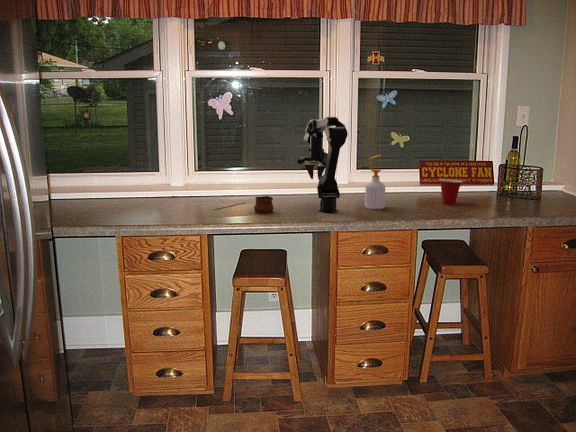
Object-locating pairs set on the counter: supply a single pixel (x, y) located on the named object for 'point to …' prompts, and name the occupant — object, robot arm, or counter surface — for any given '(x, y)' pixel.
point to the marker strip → (229, 205)
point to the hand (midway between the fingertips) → (315, 179)
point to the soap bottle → (375, 191)
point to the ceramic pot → (264, 205)
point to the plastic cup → (449, 190)
